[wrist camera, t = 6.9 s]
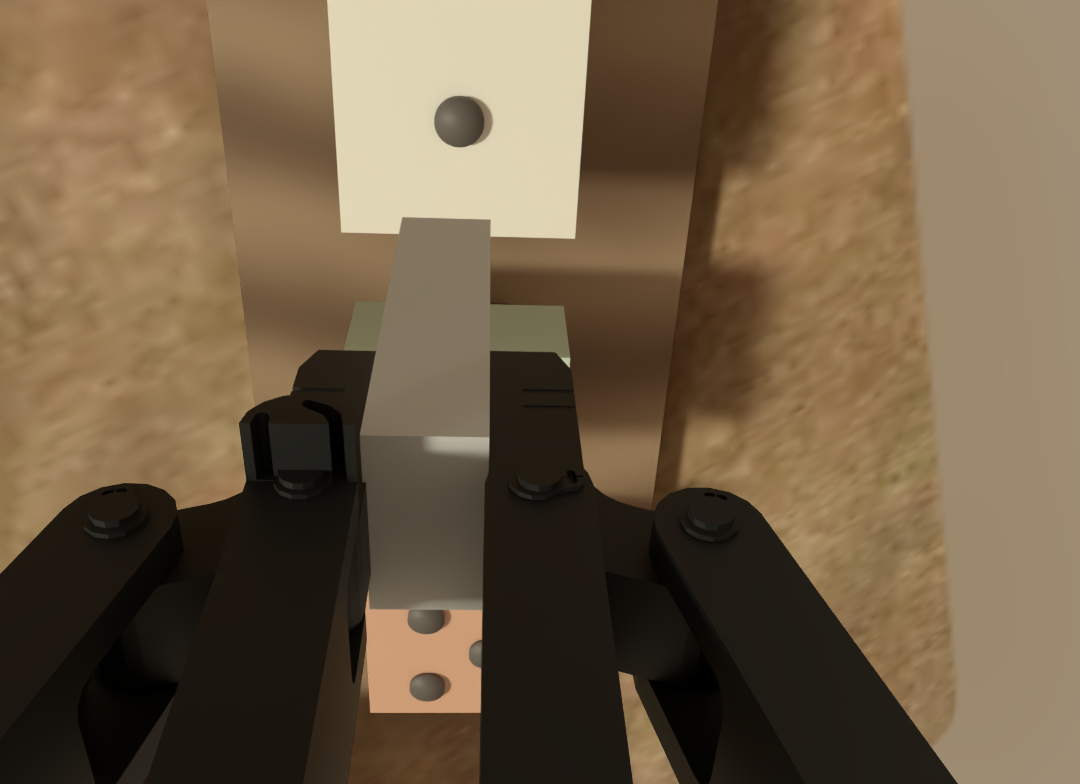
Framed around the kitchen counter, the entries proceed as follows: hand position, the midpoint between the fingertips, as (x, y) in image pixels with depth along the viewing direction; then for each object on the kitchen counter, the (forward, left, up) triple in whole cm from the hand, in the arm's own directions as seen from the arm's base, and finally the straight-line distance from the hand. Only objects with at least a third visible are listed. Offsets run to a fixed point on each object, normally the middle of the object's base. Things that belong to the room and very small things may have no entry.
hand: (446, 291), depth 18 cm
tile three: (+18, 0, -11) cm, 21 cm away
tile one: (0, 0, -11) cm, 11 cm away
